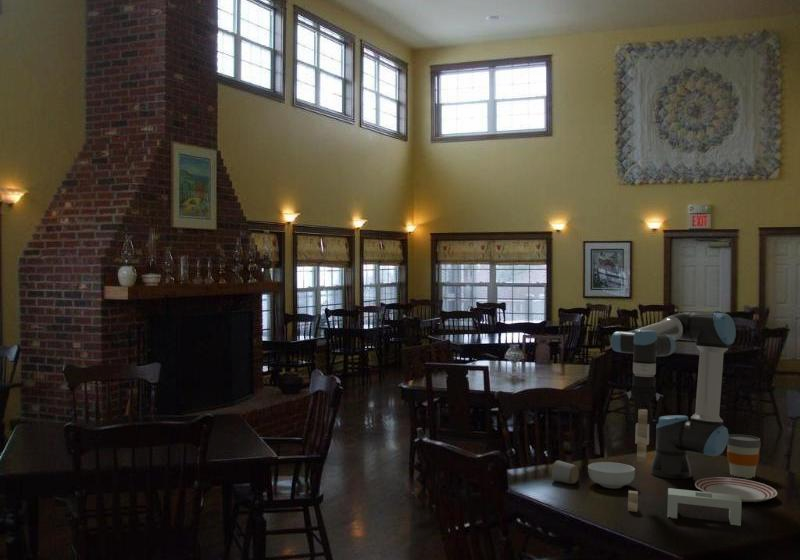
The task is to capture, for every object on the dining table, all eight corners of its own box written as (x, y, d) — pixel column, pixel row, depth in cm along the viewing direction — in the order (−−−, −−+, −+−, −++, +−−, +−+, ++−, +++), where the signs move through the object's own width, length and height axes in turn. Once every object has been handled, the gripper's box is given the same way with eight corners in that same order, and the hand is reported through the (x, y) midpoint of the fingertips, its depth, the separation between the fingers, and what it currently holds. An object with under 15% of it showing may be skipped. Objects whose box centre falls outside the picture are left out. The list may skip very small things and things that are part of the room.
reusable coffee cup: (766, 479, 316) (767, 440, 316) (736, 479, 314) (737, 441, 314) (747, 471, 329) (749, 434, 328) (719, 471, 327) (720, 434, 326)
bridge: (667, 510, 270) (668, 488, 270) (738, 518, 264) (739, 495, 263) (667, 517, 263) (668, 494, 263) (740, 525, 256) (741, 502, 256)
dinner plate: (773, 511, 273) (773, 502, 273) (688, 498, 286) (688, 489, 286) (780, 493, 297) (780, 484, 297) (701, 481, 310) (701, 473, 310)
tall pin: (637, 460, 281) (638, 409, 280) (646, 461, 280) (647, 409, 279) (636, 462, 278) (638, 410, 278) (645, 463, 277) (647, 411, 277)
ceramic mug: (570, 486, 298) (571, 465, 298) (550, 482, 303) (551, 461, 303) (583, 481, 306) (584, 461, 306) (563, 477, 311) (564, 457, 311)
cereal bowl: (613, 478, 312) (614, 459, 312) (644, 489, 297) (644, 470, 297) (578, 482, 304) (578, 463, 304) (608, 493, 289) (608, 474, 289)
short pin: (628, 508, 272) (628, 490, 272) (637, 509, 271) (638, 491, 271) (627, 510, 269) (628, 492, 269) (637, 511, 268) (637, 493, 268)
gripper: (619, 374, 277) (617, 443, 278) (668, 378, 272) (666, 447, 273) (620, 372, 284) (618, 439, 285) (668, 375, 279) (666, 443, 280)
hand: (642, 443), depth 279 cm, fingers closed on tall pin, 3 cm apart
